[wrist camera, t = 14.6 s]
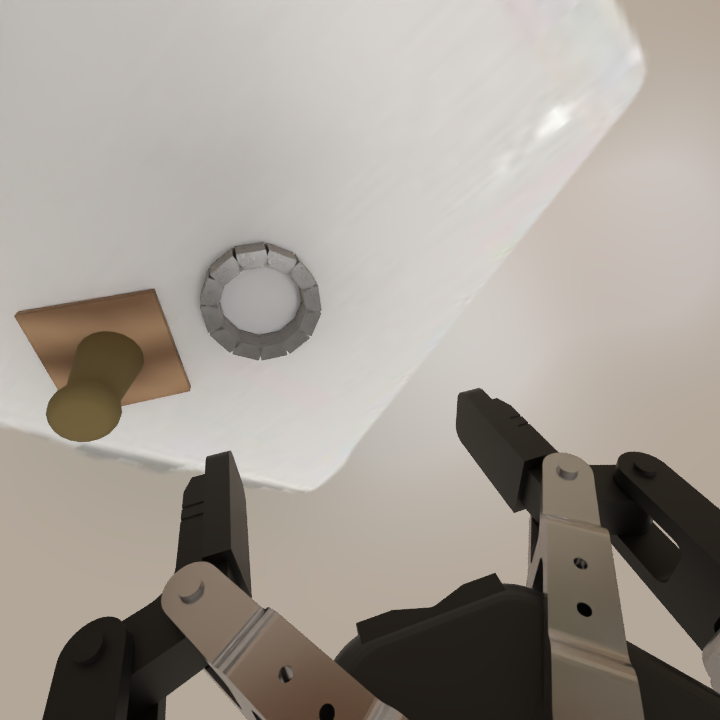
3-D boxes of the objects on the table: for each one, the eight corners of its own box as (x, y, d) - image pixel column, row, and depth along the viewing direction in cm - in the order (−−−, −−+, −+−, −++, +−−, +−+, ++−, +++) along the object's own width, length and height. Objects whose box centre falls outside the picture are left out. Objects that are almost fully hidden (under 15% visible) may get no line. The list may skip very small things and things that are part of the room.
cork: (67, 334, 39) (20, 399, 30) (136, 328, 40) (111, 388, 31) (86, 386, 42) (49, 459, 33) (150, 378, 43) (131, 446, 34)
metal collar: (188, 253, 39) (186, 262, 37) (306, 235, 42) (311, 242, 39) (219, 355, 45) (219, 369, 43) (321, 335, 48) (326, 346, 45)
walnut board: (18, 311, 37) (14, 315, 37) (154, 288, 40) (152, 292, 39) (76, 411, 44) (73, 416, 43) (190, 386, 46) (190, 390, 45)
